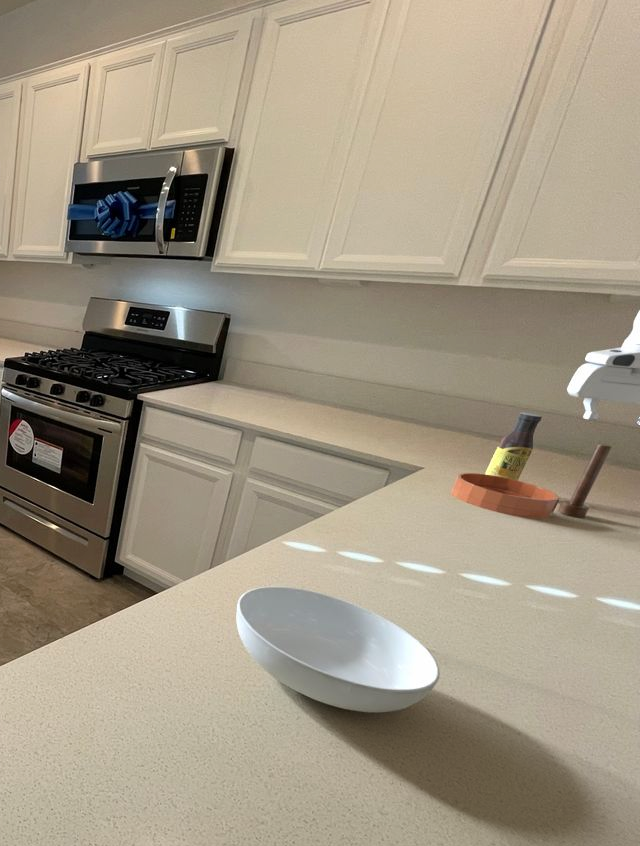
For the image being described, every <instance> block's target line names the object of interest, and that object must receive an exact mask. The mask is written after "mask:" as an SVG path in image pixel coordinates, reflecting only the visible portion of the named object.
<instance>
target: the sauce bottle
mask: <svg viewBox="0 0 640 846" xmlns="http://www.w3.org/2000/svg"><path fill="white" fill-rule="evenodd" d="M542 418H543V416H541V415H539V414H534V413H529V412H519V414H518V416H517V420H516V422H515V425H514V426H513V429H512V430H511V431H509V432H508V433H506V434H505V435H504V436H502V438H501V440H500V442H499V445H498V446H497V447H496V449H495V452H494V454H493V456H492V457H491V459H490V462H489V464H488V466H487V469H486V470H485V472H484V474H487V475H494V476H499V477H504V478H509V479H514V480H518V481H519V479H520V477H521V474H522V473H523V470H524V469H525V466H526V464H527V461H528V460H529V458H530V456H531V454H532V453H533V449H534V433H535V430H536V429H537V426H538V424H539V423H540V422H541V421H542Z"/></svg>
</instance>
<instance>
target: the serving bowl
mask: <svg viewBox="0 0 640 846" xmlns="http://www.w3.org/2000/svg"><path fill="white" fill-rule="evenodd" d="M235 616H236V618H235V619H236V620H235V621H236V628H237V632H238V635H239V638H240V639H241V642H242V644H243V646H244V648H245V649H246V650H247V652H248V654H249V655H250V657H252V659H253V660H254V661H255V662H256V663H257V664H258V665H259V666H260V668H262V669H263V670H264V671H265V672H267V673H268V674H269V675H271V676H272V677H273V678H274V679H276V680H277V681H278V682H280V683H282V684H283V685H285V686H287V687H288V688H291V689H292V690H294V691H296V692H298V693H300V694H302V695H303V696H306V697H308V698H310V699H312V700H315V701H317V702H320V703H323V704H325V705H328V706H333V707H336V708H340V709H343V710H349V711H354V712H361V713H389V712H395V711H400V710H403V709H406V708H409V707H411V706H413V705H415V704H416V703H418V702H420V701H421V700H422V699H424V698H426V696H427V695H428V694H429V693H430V692H431V691H432V690H433V688H434V687H435V686H436V684H437V683H438V681H439V679H440V667H439V665H438V662H437V660H436V658H435V656H433V654H432V653H431V652H430V651H429V649H428V648H427V647H426V646H425V645H424V644H423V643H422V642H421V641H419V640H418V639H417V638H416V637H414V636H413V635H412V634H410V632H407V631H406V630H405V629H404V628H402V627H401V626H399V625H397V624H395V623H394V622H392V621H390V620H389V619H387V618H386V617H383V616H382V615H380V614H378V613H376V612H373V611H372V610H369V609H367V608H365V607H363V606H360V605H358V604H355V603H353V602H350V601H347V600H344V599H341V598H338V597H335V596H332V595H328V594H325V593H321V592H317V591H313V590H310V589H309V590H308V589H304V588H298V587H289V586H262V587H261V586H260V587H257V588H254V589H249V590H247V591H246V592H244V593H243V594H241V596H240V597H239V598H238V601H237V604H236V615H235Z"/></svg>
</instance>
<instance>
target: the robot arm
mask: <svg viewBox="0 0 640 846" xmlns="http://www.w3.org/2000/svg"><path fill="white" fill-rule="evenodd" d="M632 323H633V325H632V330H631V331H630V333H629V335H628V336H627V337H626V338H625V339H624V341H623V343H622V345H621V347H614V348H609V349H604V350H603V349H602V350H594V351H590V352H588V353H587V354H586V356H585V358H584V360H585V362H586V363H584V364H581V365H580V366H579V367H578V368H577V370H576V371H575V373H574V374H573V376H572V378H571V380H570V382H569V384H568V385H567V388H566V392H567V393H568V395H569V396H571V397H575V398H580V399H583V401H582V403H583V407H584V410H585V412H584V414H583V416H582V418H583V419H585V420H590V421H596V420H598V418H599V416H600V414H601V412H599V411H596V406H595V405H599V403H600V401H609V402H618V403H628V404H637V405H640V309H639V310H638V312H637V314H636V316H635V318H634V320H633V322H632ZM636 425H639V426H640V415H639V416H638V420H637V421H636Z"/></svg>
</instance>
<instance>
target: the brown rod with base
mask: <svg viewBox="0 0 640 846" xmlns="http://www.w3.org/2000/svg"><path fill="white" fill-rule="evenodd" d="M612 448H613V446H612V445H609V444H607V443H606V444H605V443H597V444H596V446H595V449H594V450H593V452H592V454H591V456H590V459H589V460H588V463H587V465H586V467H585V469H584V471H583V472H582V475H581V477H580V479H579V481H578V483H577V485H576V487H575V490H574V491H573V493H572V495H571V497H570V499H569V500H562V501H561V503H560V505H559V507H558V509H557V512H558V513H560V514H562V515H565V516H568V517H572V518H578V519H584V518H585V517H586V516H587V513H588V511H589V509H590V506H588V505H586V504H585V502H586V500H587V498H588V496H589V495H590V492H591V490H592V488H593V486H594V483H595V481H596V480H597V478H598V476H599V474H600V472H601V470H602V468H603V466H604V464H605V462H606V460H607V458H608V456H609V453H610V452H611V450H612Z"/></svg>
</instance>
